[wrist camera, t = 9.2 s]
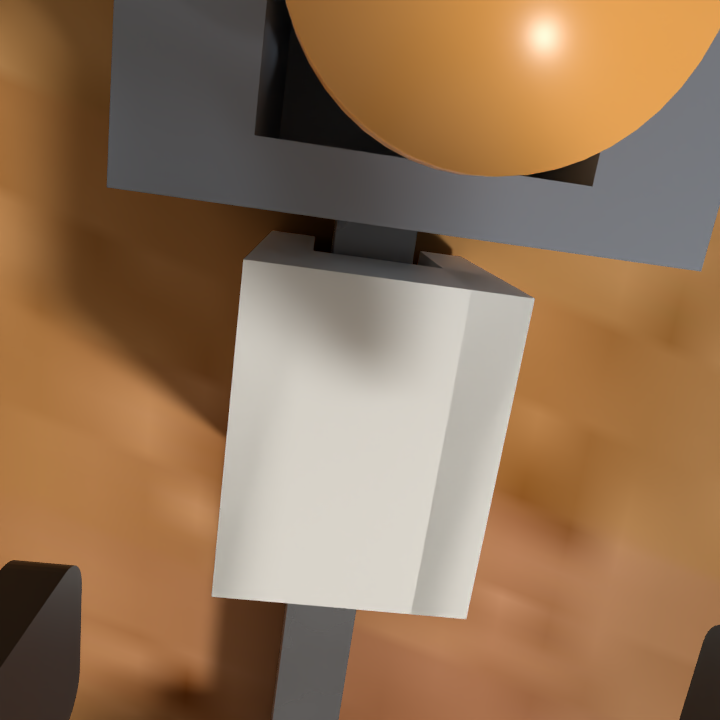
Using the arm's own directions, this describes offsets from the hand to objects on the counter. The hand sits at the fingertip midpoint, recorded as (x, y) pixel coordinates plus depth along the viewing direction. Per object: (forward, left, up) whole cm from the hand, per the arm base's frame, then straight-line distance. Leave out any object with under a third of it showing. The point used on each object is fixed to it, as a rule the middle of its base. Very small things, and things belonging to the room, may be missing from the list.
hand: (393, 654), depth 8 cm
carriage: (0, -1, -12) cm, 12 cm away
